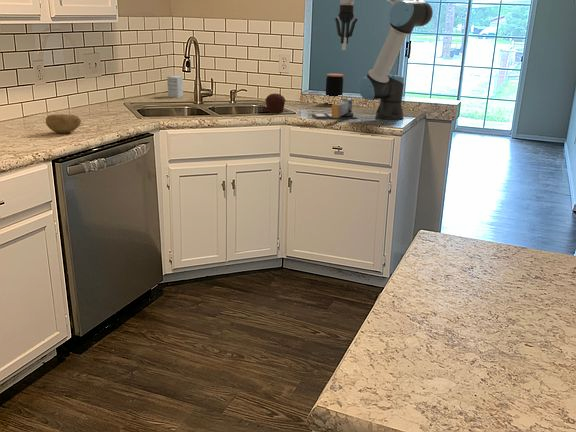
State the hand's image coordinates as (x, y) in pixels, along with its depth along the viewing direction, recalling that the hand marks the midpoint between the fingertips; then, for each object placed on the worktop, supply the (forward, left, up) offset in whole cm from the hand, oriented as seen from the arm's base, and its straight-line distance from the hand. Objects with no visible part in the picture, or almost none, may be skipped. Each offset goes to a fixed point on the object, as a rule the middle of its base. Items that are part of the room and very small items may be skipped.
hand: (343, 49), depth 322 cm
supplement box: (+107, +23, -35) cm, 115 cm away
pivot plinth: (-12, +15, -34) cm, 40 cm away
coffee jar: (+20, -28, -35) cm, 49 cm away
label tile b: (-2, +26, -34) cm, 43 cm away
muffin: (+26, +28, -35) cm, 52 cm away
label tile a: (-7, +21, -34) cm, 41 cm away
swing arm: (-14, +24, -32) cm, 42 cm away
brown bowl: (+56, +143, -35) cm, 157 cm away
